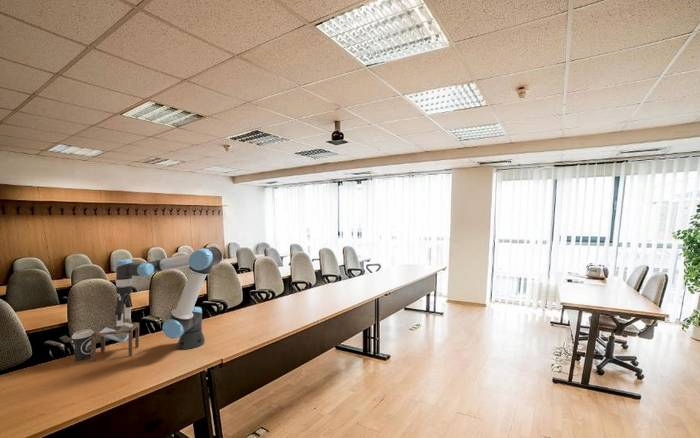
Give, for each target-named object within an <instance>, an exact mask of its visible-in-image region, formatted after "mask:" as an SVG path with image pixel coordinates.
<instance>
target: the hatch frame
mask: <svg viewBox="0 0 700 438" xmlns="http://www.w3.org/2000/svg"><path fill="white" fill-rule="evenodd" d="M129 323H130V322H129ZM130 324H133V326H132V327H131V329H130V330H121V331H119V330H116V331H112V332H103V333H99V332H100V331H101V330H102V329H104V328H105V327H107V328H110V329H116V328H120V327H121V326H117V324H111V325H102V326H100V327H99V328H98V329H97V330H95V331H93V332H94V333H93V334H92V335H91V357H90V361H91V363H94V362H96V360H97V359H96V358H97V337H100V353H101V354H102V353H104V352H106V337H103V335H112V334H120V333H129V334H128V335H129V338H128V349H127V350H128V353H127V354H128V357H130V358H131V357H132V356H133V336H134V339H135V341H134V344H135V345H134V348H135V349H139V348H140V347H139V346H140V322H131V323H130ZM134 330H135V331H134ZM133 331H134V332H133ZM133 333H134V334H135V335H133Z"/></svg>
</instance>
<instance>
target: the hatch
mask: <svg viewBox="0 0 700 438" xmlns="http://www.w3.org/2000/svg"><path fill="white" fill-rule="evenodd" d="M112 331H117V330H116V329H114V328H107V327H105V328H104V329H102V330H101V331H100V332H99V333H103V332H112ZM103 337H105V339H106V338H107V339H110V340H113V341H116V342H119V343H122V344H125V343H126V342H127V341H129V334H128V336H127V337H126V338H125V339H123V338H119V337H116V334H112V335H103Z"/></svg>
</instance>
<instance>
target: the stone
mask: <svg viewBox="0 0 700 438" xmlns="http://www.w3.org/2000/svg"><path fill="white" fill-rule="evenodd" d="M132 326H133V324H130V322H126V321H125V322H123V326H121V327H119V329H118V331H121V330H130V329H131V327H132ZM128 335H129V333H120V334H116V337H119V338H123V339H125V338H126V337H127V336H128Z"/></svg>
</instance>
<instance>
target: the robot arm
mask: <svg viewBox="0 0 700 438" xmlns="http://www.w3.org/2000/svg"><path fill="white" fill-rule="evenodd" d="M222 260H223V252H222V250H220V248H218V247H214V246H210V247H205V248H204V247H201V248H198V249H196V250H194V251H193V252H192V253H189V254H183V255H178V256H177V255H176V256H173V257H172V256H171V257H167V258H162V259H155V260H151V261H146V262H133V259H130V258H129V259H125V258H124V259H119V260H117V261H116V264H115V266H116V267H115V275H116V278H115V281H114V282H115V286H116V287H115V294H117V295H119V296H117V297H116V298H117V299H116V305H115V311H114V316H116V325H117V326H123V323H124V320H128V319H132V318H131V315H132V313H131V311H132V310H131V309H132V307H133V303H132V302H133V301H132V297H131V293H132V292H133V277H150V276H151V275H152V274H154V273H161V272H165V271H171V270H176V269H181V268H187V267H189V268H188V269H189V271H190V272H189V275H188V278H187V280H186V283H185V285H184V288H183V290H182V292H181V296H180V297H179V301H178V303H177V306H176V308H175V309H173V310H172V311H171V313H170V316H169V318H168V319H166V320H165V321H164V322H163V324H162V329H161V330H162V332H163V334H164V336H166V338H169V339H173V340H175V339H178V341H177V348H178V349H181V350H189V349H190V350H191V349H196V348H199V347H201V346H203V345H204V344H206V343H205V342H206V338H205V335H204V331H203V309H202V307H200V306H195V304H196V302H197V300H198V297H199V295H200V293H201V290H202V287H203V285H204V282H205V279H206V277H207V276H208V275H211V271H212V270H213V267H214V266H217V265H218V264H220V263H221V261H222ZM124 307H125V308H124ZM123 311H124V314H123Z"/></svg>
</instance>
